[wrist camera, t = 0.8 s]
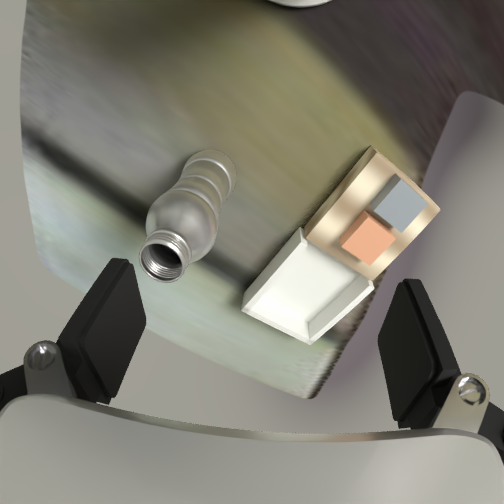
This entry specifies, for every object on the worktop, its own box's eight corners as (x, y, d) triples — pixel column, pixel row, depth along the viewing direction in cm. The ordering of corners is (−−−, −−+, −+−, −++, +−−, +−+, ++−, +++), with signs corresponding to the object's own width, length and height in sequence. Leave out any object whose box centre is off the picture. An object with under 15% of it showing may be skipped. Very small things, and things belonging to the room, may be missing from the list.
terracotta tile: (364, 209, 37) (368, 217, 36) (391, 230, 38) (396, 238, 37) (339, 238, 40) (341, 246, 38) (366, 257, 41) (369, 266, 39)
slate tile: (395, 173, 34) (401, 179, 33) (422, 197, 35) (428, 203, 34) (369, 203, 37) (373, 210, 35) (396, 225, 38) (401, 233, 36)
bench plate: (370, 145, 36) (377, 152, 33) (432, 199, 38) (440, 209, 36) (304, 226, 43) (305, 238, 40) (367, 268, 46) (371, 281, 43)
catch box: (299, 226, 43) (301, 241, 40) (368, 271, 46) (374, 288, 42) (243, 293, 50) (240, 310, 47) (309, 327, 53) (310, 344, 50)
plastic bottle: (230, 139, 37) (184, 213, 21) (244, 189, 41) (216, 292, 24) (181, 152, 39) (106, 231, 22) (198, 199, 42) (143, 301, 25)
